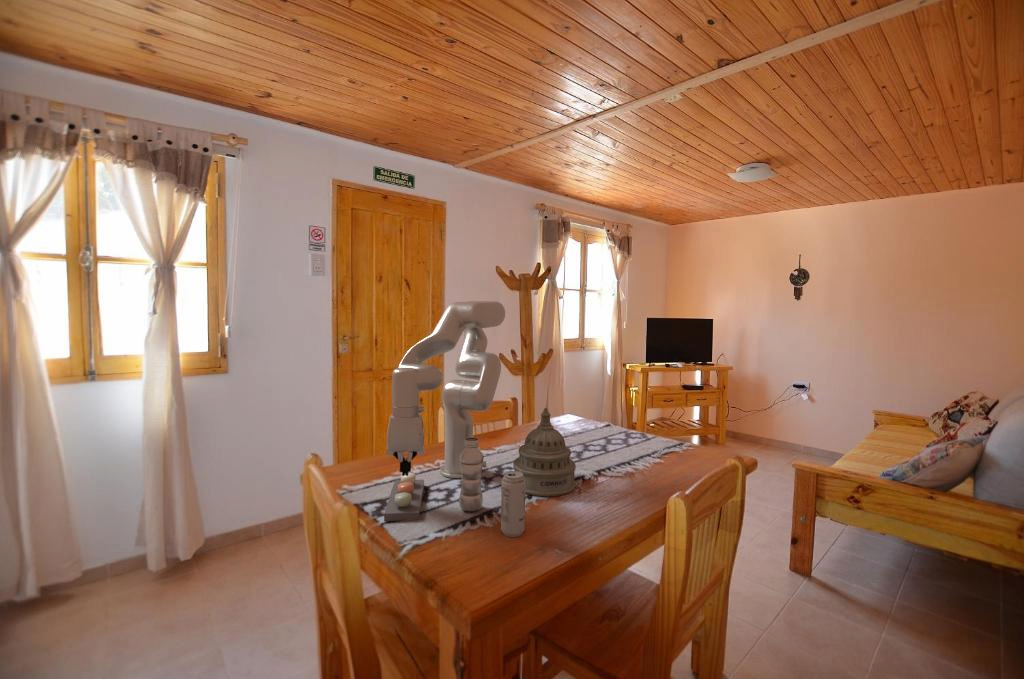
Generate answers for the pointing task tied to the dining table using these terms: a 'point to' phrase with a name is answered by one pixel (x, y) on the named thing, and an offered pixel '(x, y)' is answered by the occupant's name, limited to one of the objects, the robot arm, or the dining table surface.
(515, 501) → the energy drink can
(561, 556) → the dining table surface
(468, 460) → the plastic bottle
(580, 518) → the dining table surface
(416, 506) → the button board
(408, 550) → the dining table surface
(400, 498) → the key sage
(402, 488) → the key terracotta
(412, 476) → the key cream
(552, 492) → the dome
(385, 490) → the dining table surface
